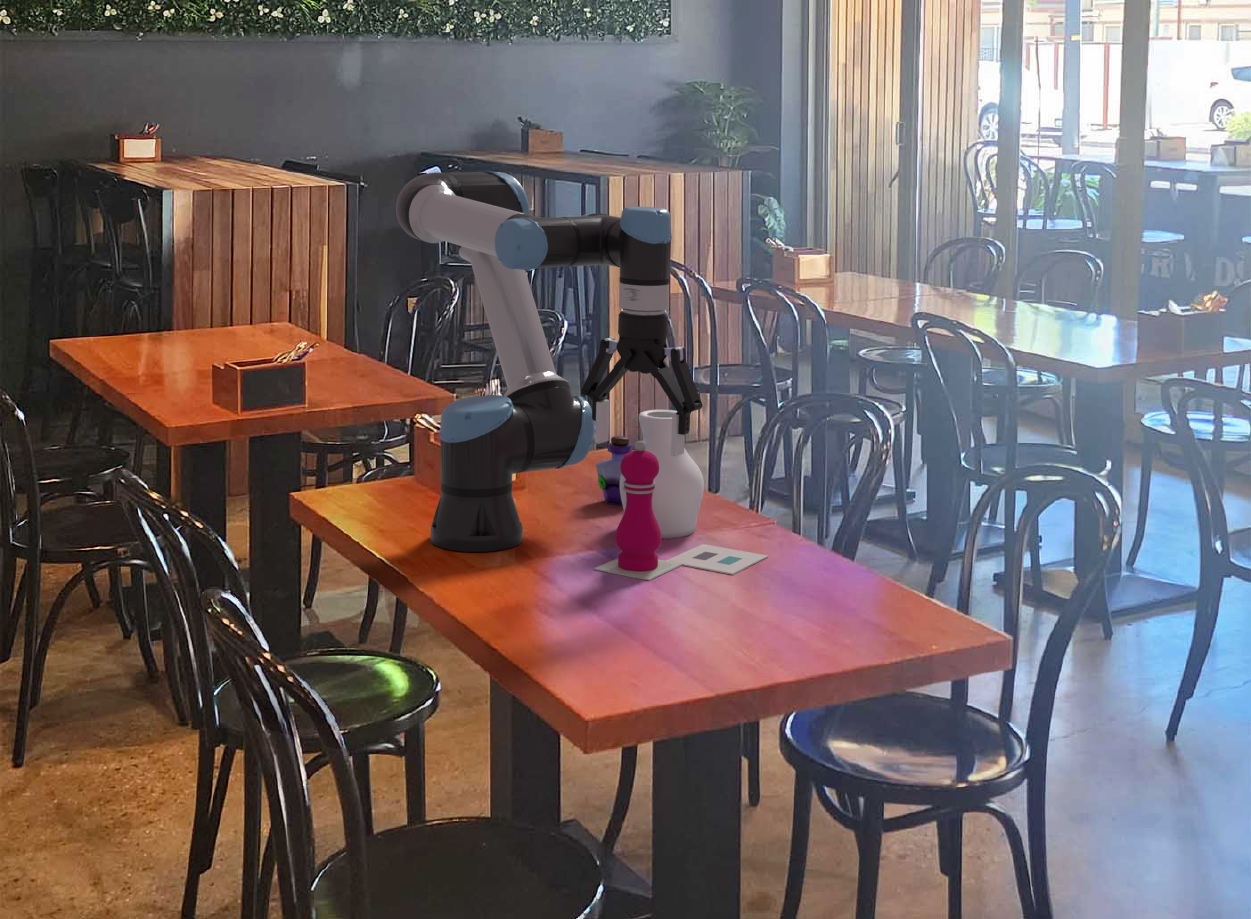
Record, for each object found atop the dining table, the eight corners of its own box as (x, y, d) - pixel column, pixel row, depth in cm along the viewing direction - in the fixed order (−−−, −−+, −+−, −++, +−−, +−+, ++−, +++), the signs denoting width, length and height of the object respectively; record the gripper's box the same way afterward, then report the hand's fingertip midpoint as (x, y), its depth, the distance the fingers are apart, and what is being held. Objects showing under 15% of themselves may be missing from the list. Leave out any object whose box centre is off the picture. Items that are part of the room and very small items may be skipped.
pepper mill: (656, 574, 248) (659, 447, 243) (610, 570, 249) (612, 444, 244) (664, 561, 254) (667, 437, 250) (619, 557, 256) (622, 434, 251)
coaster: (594, 569, 250) (594, 568, 250) (628, 555, 258) (628, 553, 258) (649, 580, 245) (649, 579, 245) (682, 565, 253) (682, 563, 253)
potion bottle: (585, 501, 292) (586, 436, 289) (616, 493, 298) (617, 430, 296) (621, 510, 286) (622, 444, 284) (652, 501, 293) (653, 436, 290)
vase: (683, 515, 284) (686, 403, 279) (715, 536, 271) (719, 419, 266) (607, 521, 279) (608, 408, 274) (636, 543, 266) (638, 424, 261)
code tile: (665, 562, 255) (665, 560, 255) (702, 545, 265) (702, 543, 265) (732, 574, 249) (732, 573, 249) (768, 557, 259) (768, 555, 259)
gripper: (560, 305, 246) (558, 441, 251) (703, 322, 233) (697, 464, 238) (587, 300, 252) (584, 432, 257) (728, 316, 240) (722, 455, 245)
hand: (639, 448), depth 248 cm, fingers open, 13 cm apart
